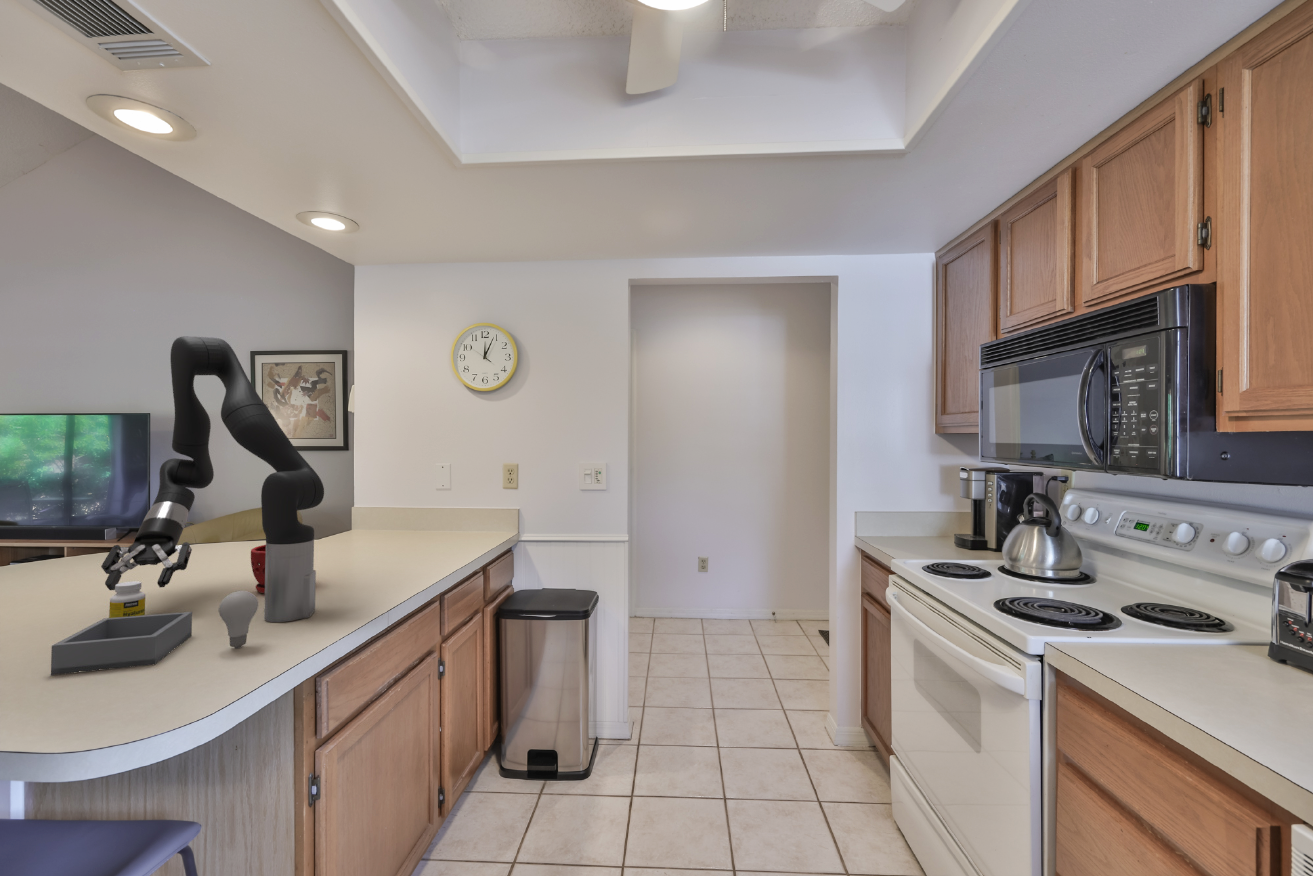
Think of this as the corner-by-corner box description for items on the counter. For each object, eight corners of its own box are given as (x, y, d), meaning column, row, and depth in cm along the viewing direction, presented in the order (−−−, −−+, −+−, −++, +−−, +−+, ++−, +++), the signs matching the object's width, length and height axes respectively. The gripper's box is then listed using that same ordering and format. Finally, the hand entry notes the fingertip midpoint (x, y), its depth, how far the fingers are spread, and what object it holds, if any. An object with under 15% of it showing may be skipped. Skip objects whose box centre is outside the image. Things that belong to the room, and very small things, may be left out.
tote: (191, 636, 112) (192, 611, 112) (154, 664, 98) (155, 636, 98) (103, 644, 107) (103, 618, 107) (50, 675, 93) (51, 645, 93)
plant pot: (268, 584, 152) (269, 541, 152) (318, 583, 154) (319, 540, 154) (238, 597, 139) (239, 550, 139) (293, 596, 141) (294, 550, 141)
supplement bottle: (122, 635, 112) (123, 587, 112) (101, 633, 113) (102, 585, 113) (151, 626, 117) (152, 581, 117) (131, 624, 118) (132, 579, 118)
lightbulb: (214, 656, 102) (215, 597, 102) (222, 645, 107) (223, 589, 107) (254, 651, 105) (255, 593, 105) (260, 640, 110) (261, 585, 110)
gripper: (118, 517, 124) (85, 580, 113) (196, 515, 129) (171, 575, 118) (130, 536, 129) (100, 598, 118) (204, 534, 134) (182, 593, 123)
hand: (135, 587), depth 118 cm, fingers open, 8 cm apart
